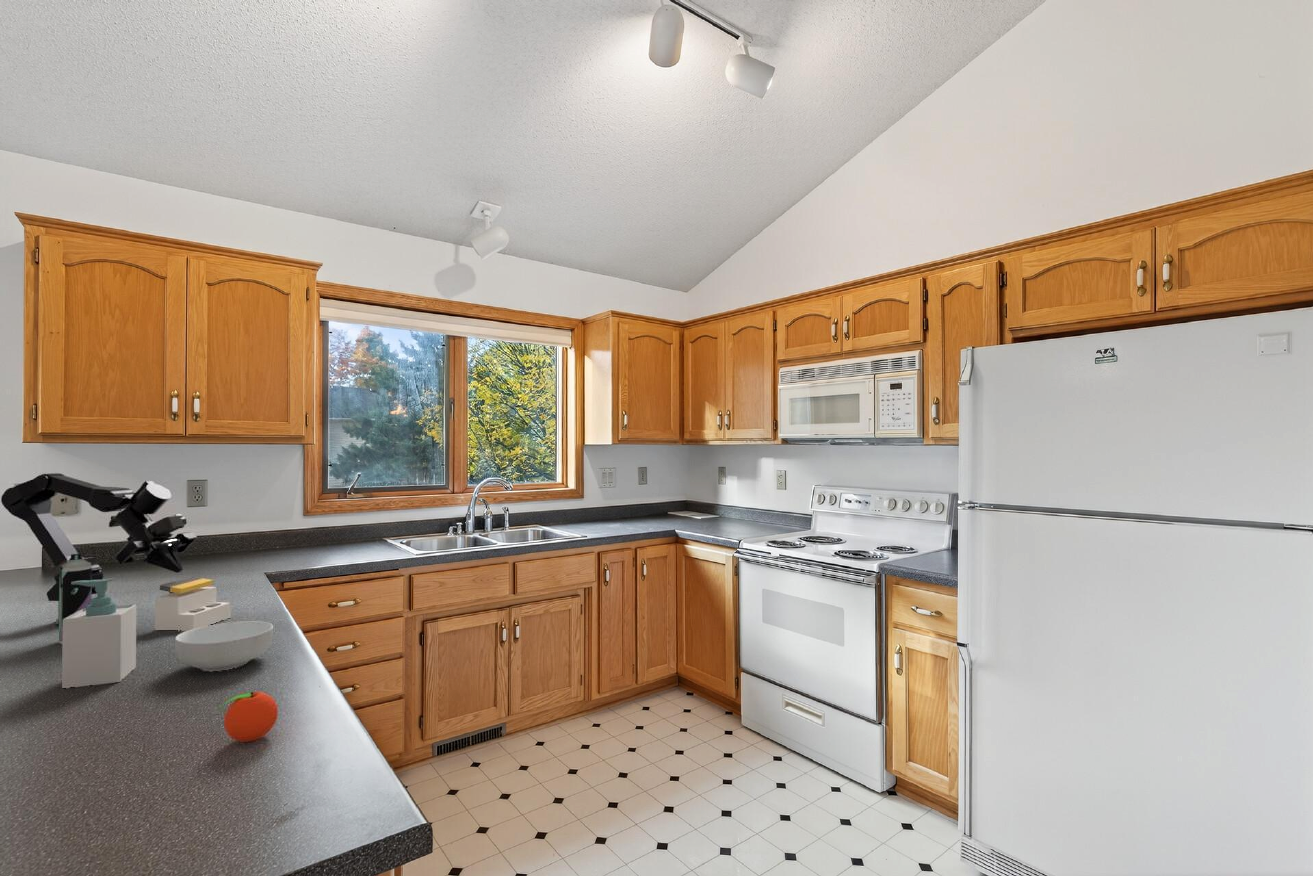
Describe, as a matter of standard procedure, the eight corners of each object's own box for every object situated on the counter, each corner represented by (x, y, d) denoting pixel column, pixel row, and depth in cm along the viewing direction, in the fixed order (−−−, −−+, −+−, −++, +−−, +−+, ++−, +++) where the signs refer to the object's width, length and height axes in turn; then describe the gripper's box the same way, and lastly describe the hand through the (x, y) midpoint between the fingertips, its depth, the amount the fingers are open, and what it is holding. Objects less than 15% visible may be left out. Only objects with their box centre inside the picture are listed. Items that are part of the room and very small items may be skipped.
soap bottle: (80, 674, 125) (81, 576, 125) (136, 668, 128) (137, 573, 128) (60, 689, 117) (61, 585, 117) (120, 682, 120) (120, 581, 120)
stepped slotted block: (155, 630, 154) (155, 597, 154) (194, 617, 166) (195, 586, 166) (193, 631, 153) (193, 598, 154) (230, 618, 165) (231, 587, 166)
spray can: (71, 645, 143) (72, 556, 143) (52, 643, 144) (53, 555, 144) (97, 637, 148) (98, 552, 149) (78, 636, 150) (79, 551, 150)
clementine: (210, 755, 92) (210, 705, 92) (221, 735, 98) (221, 689, 98) (274, 745, 95) (274, 697, 95) (280, 726, 101) (281, 681, 101)
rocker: (159, 591, 155) (160, 585, 155) (192, 583, 165) (193, 576, 165) (180, 595, 155) (181, 588, 155) (212, 586, 165) (213, 580, 165)
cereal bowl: (284, 664, 130) (284, 629, 130) (184, 687, 118) (185, 649, 118) (259, 647, 141) (259, 615, 142) (166, 666, 129) (166, 631, 129)
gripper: (127, 508, 152) (170, 555, 151) (191, 501, 170) (229, 543, 169) (96, 541, 152) (139, 588, 151) (163, 530, 171) (201, 572, 170)
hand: (180, 571), depth 160 cm, fingers closed
